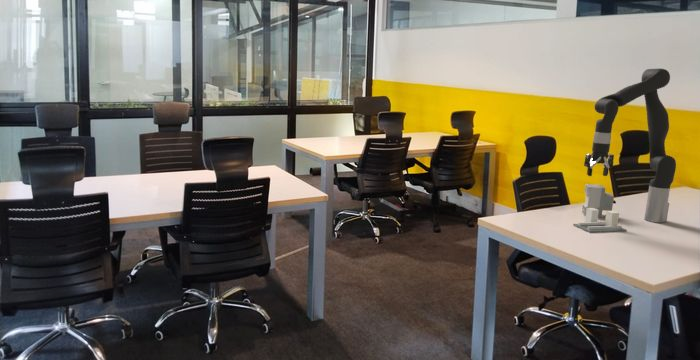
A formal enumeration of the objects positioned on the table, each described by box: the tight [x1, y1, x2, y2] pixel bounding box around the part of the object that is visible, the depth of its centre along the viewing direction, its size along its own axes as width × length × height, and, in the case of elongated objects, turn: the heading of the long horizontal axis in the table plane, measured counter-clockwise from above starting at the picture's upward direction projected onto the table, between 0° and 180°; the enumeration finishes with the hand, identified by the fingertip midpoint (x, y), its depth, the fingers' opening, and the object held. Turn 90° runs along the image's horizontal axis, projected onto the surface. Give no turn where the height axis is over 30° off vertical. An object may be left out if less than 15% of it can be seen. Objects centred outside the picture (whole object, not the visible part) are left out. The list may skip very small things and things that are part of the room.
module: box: [584, 208, 599, 222], centre depth 293 cm, size 4×5×7 cm
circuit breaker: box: [581, 183, 617, 218], centre depth 308 cm, size 8×14×15 cm, turn 78°
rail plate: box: [573, 210, 628, 234], centre depth 284 cm, size 20×12×8 cm, turn 106°
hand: (597, 175), depth 289 cm, fingers open, 8 cm apart
